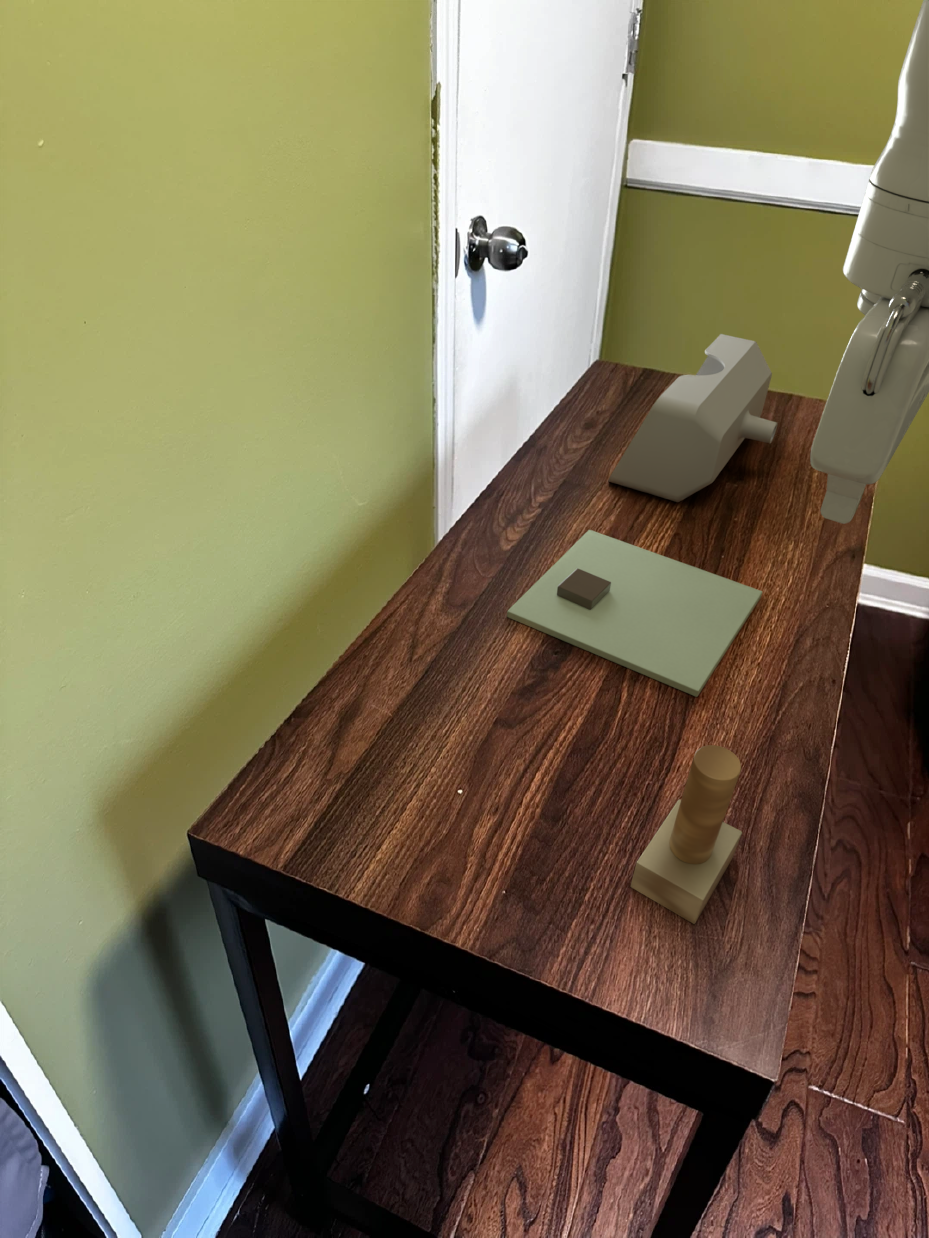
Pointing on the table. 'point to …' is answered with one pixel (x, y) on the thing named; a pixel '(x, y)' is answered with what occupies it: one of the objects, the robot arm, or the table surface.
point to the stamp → (693, 838)
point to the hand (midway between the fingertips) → (856, 482)
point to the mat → (642, 611)
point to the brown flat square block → (583, 588)
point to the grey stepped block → (700, 423)
